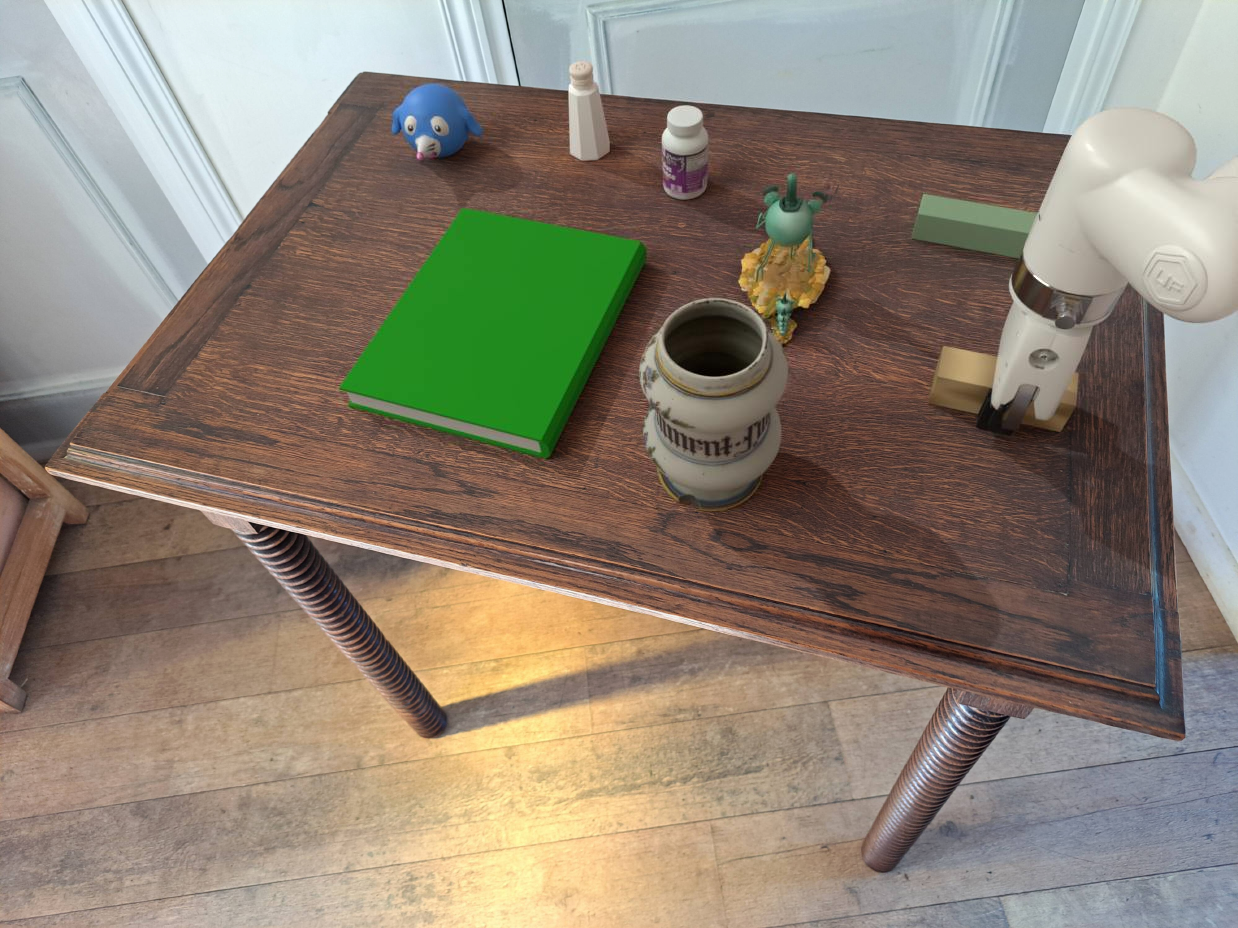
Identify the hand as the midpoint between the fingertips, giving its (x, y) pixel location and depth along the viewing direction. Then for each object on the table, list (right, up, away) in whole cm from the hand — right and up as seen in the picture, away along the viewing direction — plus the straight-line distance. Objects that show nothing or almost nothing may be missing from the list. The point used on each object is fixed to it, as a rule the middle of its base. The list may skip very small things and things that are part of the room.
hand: (994, 425), depth 78 cm
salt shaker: (-38, +36, +30) cm, 61 cm away
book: (-47, +11, +13) cm, 50 cm away
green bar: (+6, +21, +16) cm, 27 cm away
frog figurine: (-17, +16, +14) cm, 27 cm away
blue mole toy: (-57, +36, +31) cm, 74 cm away
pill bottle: (-26, +30, +25) cm, 47 cm away
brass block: (+2, +2, +3) cm, 4 cm away
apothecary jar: (-26, -4, +1) cm, 26 cm away
